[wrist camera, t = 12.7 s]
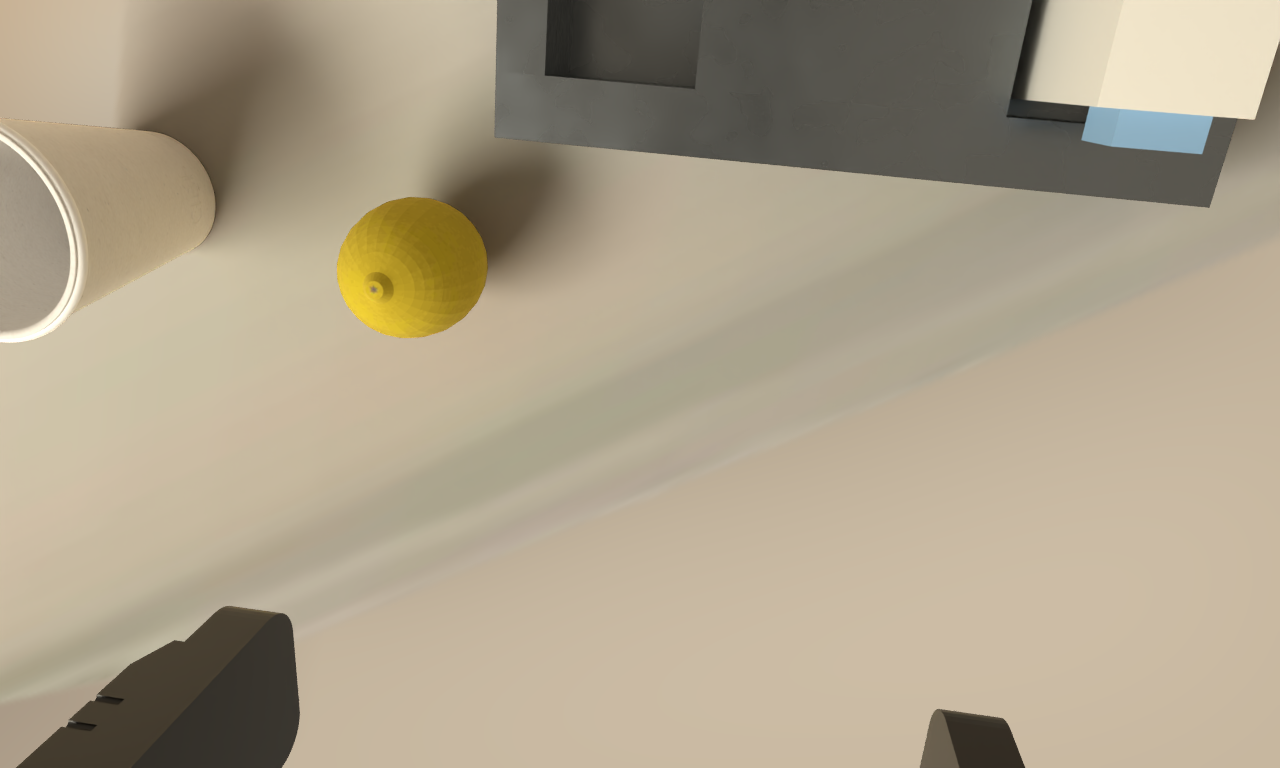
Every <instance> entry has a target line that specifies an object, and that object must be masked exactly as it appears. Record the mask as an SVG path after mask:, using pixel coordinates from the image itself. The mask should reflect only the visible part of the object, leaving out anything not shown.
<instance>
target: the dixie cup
mask: <svg viewBox="0 0 1280 768" xmlns="http://www.w3.org/2000/svg"><path fill="white" fill-rule="evenodd" d="M215 209H216V204H215V195H214V190H213V187H212V183H211V181H210V178H209V176H208V174H207V172H206V170H205V168H204V167H203V165H202V164H201V162H200V161H199V160H198V158H197V157H196V156H195V155H194V154H193V153H192V152H191V151H190V150H189V149H188V148H187V147H186V146H184V145H183V144H182V143H180V142H179V141H177V140H175V139H174V138H172V137H169V136H167V135H164V134H161V133H157V132H151V131H143V130H132V129H121V128H109V127H97V126H87V125H75V124H64V123H52V122H41V121H30V120H19V119H7V118H0V342H23V341H28V340H33V339H36V338H39V337H42V336H44V335H46V334H48V333H50V332H52V331H53V330H55V329H56V328H58V327H59V326H60V325H61V324H63V323H64V322H65V321H66V320H67V319H68V317H69V316H70V315H71V314H73V313H75V312H77V311H78V310H80V309H82V308H84V307H86V306H88V305H90V304H92V303H93V302H95V301H97V300H99V299H101V298H103V297H105V296H107V295H108V294H110V293H112V292H114V291H116V290H118V289H120V288H121V287H123V286H125V285H127V284H129V283H131V282H133V281H135V280H136V279H138V278H140V277H142V276H144V275H146V274H148V273H149V272H151V271H153V270H155V269H157V268H159V267H161V266H163V265H164V264H166V263H168V262H170V261H172V260H174V259H176V258H177V257H179V256H181V255H183V254H185V253H187V252H189V251H191V250H192V249H194V248H196V247H197V246H198V245H200V244H201V243H202V242H203V241H204V240H205V238H206V237H207V236H208V234H209V232H210V230H211V228H212V225H213V222H214V218H215Z"/></svg>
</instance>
